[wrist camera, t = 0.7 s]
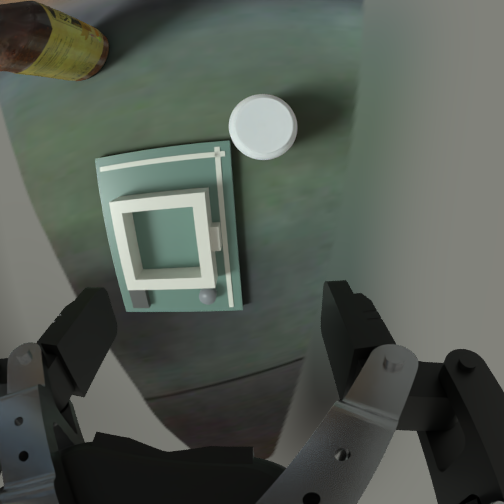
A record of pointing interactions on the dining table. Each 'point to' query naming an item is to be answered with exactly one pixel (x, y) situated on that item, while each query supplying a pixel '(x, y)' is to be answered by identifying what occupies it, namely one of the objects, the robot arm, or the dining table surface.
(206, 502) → the robot arm
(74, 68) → the sauce bottle
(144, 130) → the dining table surface
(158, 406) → the dining table surface
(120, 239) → the board
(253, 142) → the pill bottle
